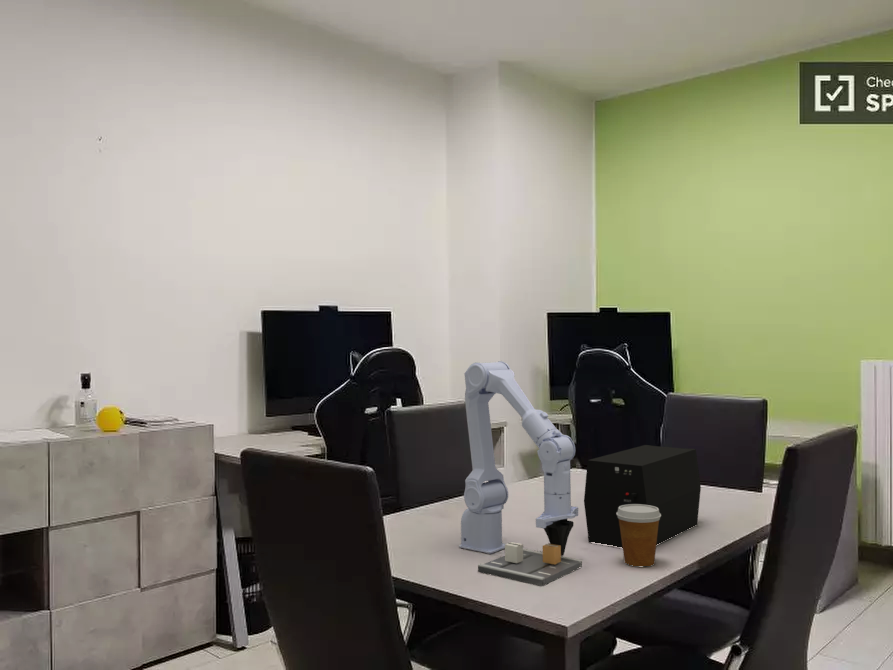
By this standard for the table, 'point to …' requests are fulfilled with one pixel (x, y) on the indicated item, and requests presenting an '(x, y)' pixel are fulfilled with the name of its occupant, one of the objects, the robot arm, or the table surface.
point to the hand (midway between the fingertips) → (558, 554)
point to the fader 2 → (551, 553)
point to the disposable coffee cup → (639, 533)
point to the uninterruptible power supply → (642, 490)
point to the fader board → (530, 568)
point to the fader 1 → (514, 552)
